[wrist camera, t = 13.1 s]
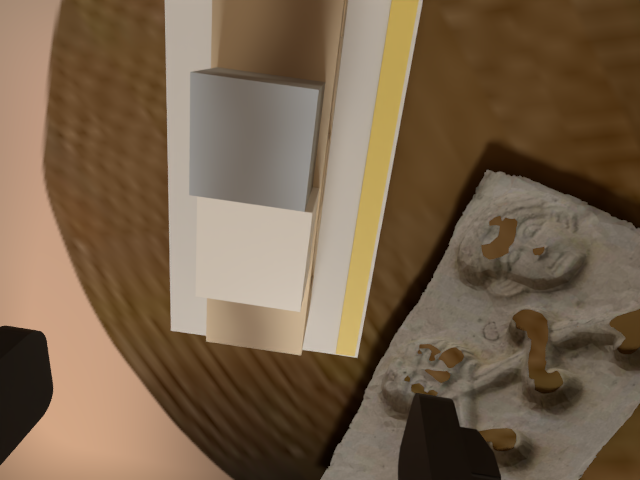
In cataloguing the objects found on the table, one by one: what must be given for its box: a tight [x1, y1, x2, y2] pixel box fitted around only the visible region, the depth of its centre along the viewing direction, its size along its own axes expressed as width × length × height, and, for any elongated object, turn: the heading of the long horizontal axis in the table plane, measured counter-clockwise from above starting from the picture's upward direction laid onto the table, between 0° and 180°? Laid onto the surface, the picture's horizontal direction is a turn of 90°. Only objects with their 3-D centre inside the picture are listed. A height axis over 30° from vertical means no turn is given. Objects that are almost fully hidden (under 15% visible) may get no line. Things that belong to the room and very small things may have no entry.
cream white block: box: [196, 187, 319, 312], centre depth 20 cm, size 4×4×3 cm
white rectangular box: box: [165, 0, 423, 358], centre depth 27 cm, size 12×24×6 cm, turn 173°
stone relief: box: [321, 170, 640, 480], centre depth 36 cm, size 32×3×20 cm
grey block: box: [189, 67, 325, 212], centre depth 18 cm, size 4×4×3 cm
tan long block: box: [206, 0, 348, 355], centre depth 22 cm, size 5×18×4 cm, turn 173°
